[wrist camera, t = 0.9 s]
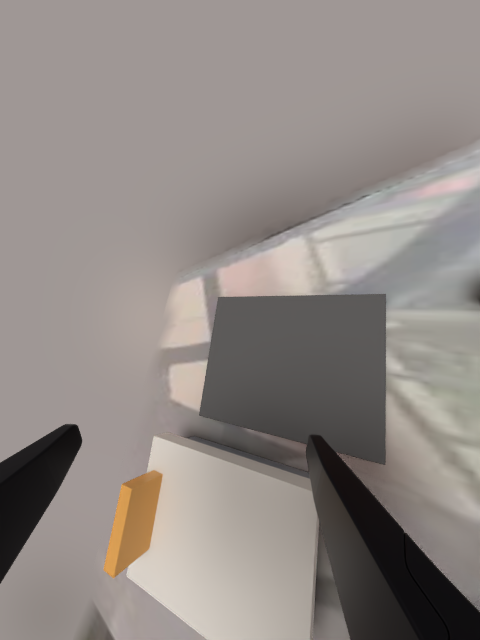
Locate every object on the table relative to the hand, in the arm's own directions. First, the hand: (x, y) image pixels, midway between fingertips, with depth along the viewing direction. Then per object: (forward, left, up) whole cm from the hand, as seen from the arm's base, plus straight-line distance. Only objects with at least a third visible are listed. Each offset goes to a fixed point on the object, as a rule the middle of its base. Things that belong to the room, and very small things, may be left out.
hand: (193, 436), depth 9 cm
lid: (-11, +4, -13) cm, 18 cm away
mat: (+4, +1, -17) cm, 18 cm away
